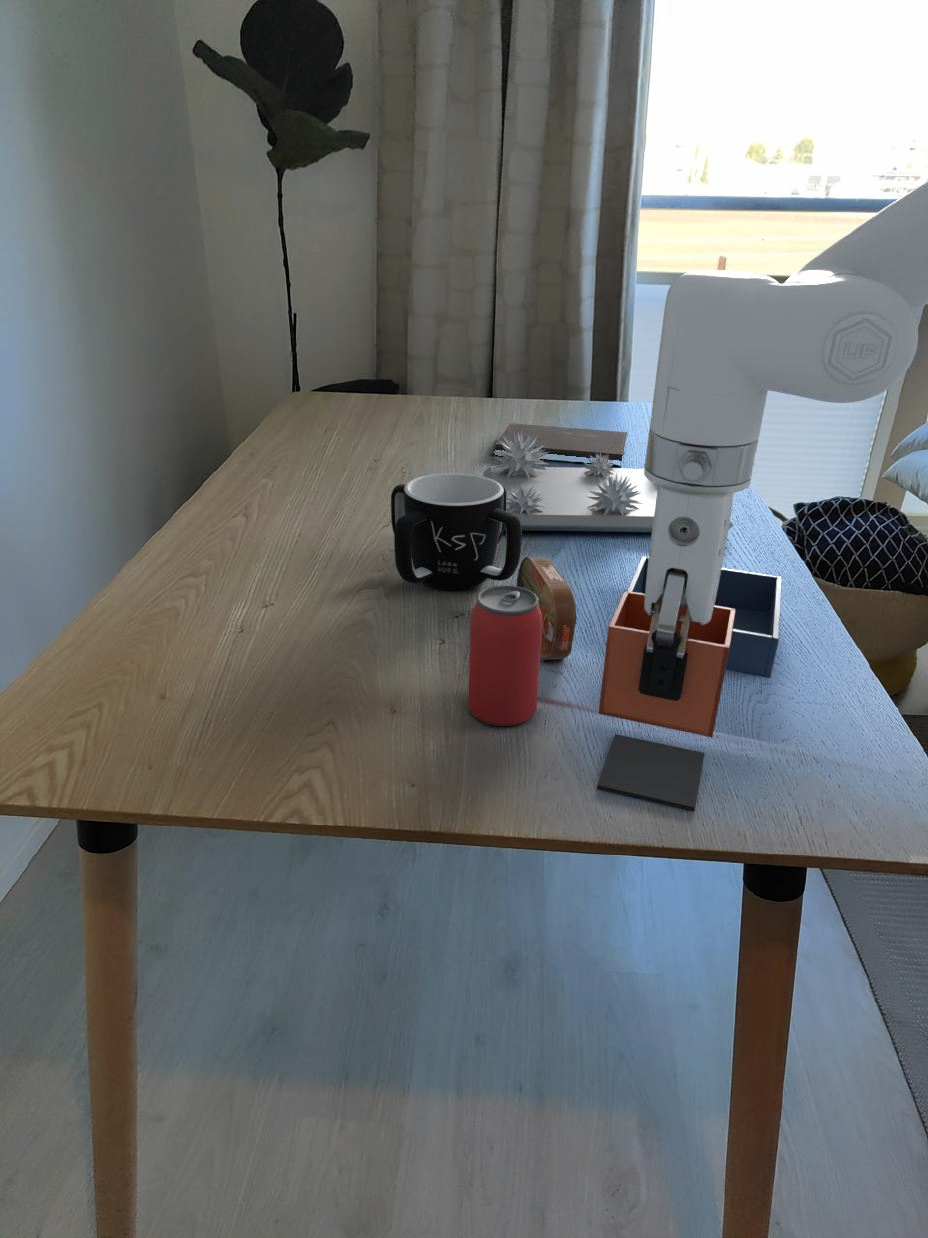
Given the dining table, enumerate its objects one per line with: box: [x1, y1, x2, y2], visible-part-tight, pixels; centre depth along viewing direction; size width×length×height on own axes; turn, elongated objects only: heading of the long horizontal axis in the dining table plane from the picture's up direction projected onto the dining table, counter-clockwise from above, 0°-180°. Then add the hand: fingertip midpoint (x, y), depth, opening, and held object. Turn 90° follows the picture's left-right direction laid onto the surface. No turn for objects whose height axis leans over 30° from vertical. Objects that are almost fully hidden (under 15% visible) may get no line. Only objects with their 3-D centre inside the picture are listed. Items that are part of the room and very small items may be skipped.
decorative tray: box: [482, 430, 734, 533], centre depth 131 cm, size 35×26×10 cm
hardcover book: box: [494, 422, 628, 462], centre depth 161 cm, size 16×23×2 cm
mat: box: [596, 733, 705, 812], centre depth 74 cm, size 8×8×1 cm
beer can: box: [467, 584, 543, 727], centre depth 79 cm, size 7×7×12 cm
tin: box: [516, 556, 577, 662], centre depth 93 cm, size 15×3×8 cm, turn 10°
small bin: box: [598, 590, 736, 738], centre depth 69 cm, size 9×7×8 cm
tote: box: [626, 555, 783, 679], centre depth 96 cm, size 16×16×5 cm
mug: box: [390, 472, 523, 591], centre depth 106 cm, size 16×16×12 cm
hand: (666, 670), depth 69 cm, fingers closed on small bin, 7 cm apart
